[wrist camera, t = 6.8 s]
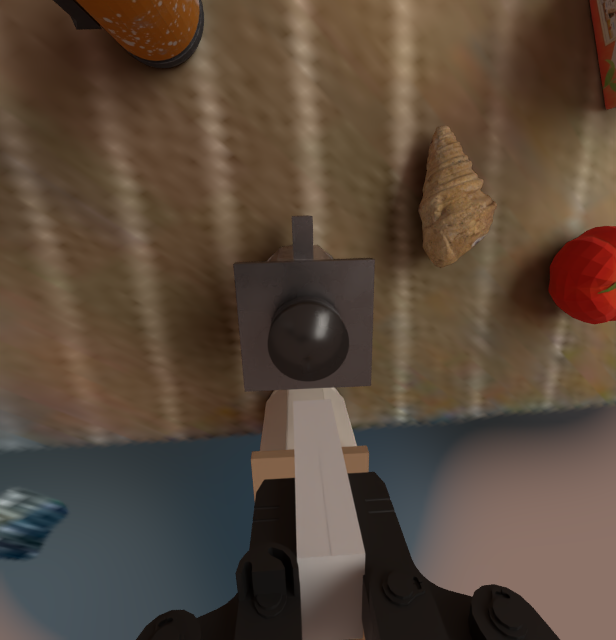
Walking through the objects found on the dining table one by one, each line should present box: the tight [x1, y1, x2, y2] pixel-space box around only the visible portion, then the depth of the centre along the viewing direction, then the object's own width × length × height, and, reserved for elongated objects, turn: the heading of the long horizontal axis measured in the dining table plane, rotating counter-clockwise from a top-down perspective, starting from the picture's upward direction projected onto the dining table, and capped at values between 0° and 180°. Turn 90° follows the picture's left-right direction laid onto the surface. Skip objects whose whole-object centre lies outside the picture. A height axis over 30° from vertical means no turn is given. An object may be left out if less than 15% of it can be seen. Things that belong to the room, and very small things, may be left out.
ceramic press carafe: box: [251, 387, 369, 499], centre depth 40 cm, size 10×14×16 cm
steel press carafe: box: [233, 216, 375, 392], centre depth 34 cm, size 10×14×16 cm
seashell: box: [418, 126, 497, 268], centre depth 36 cm, size 14×8×8 cm, turn 18°
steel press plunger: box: [268, 296, 349, 382], centre depth 31 cm, size 7×7×16 cm
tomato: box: [548, 226, 616, 324], centre depth 39 cm, size 11×11×9 cm
